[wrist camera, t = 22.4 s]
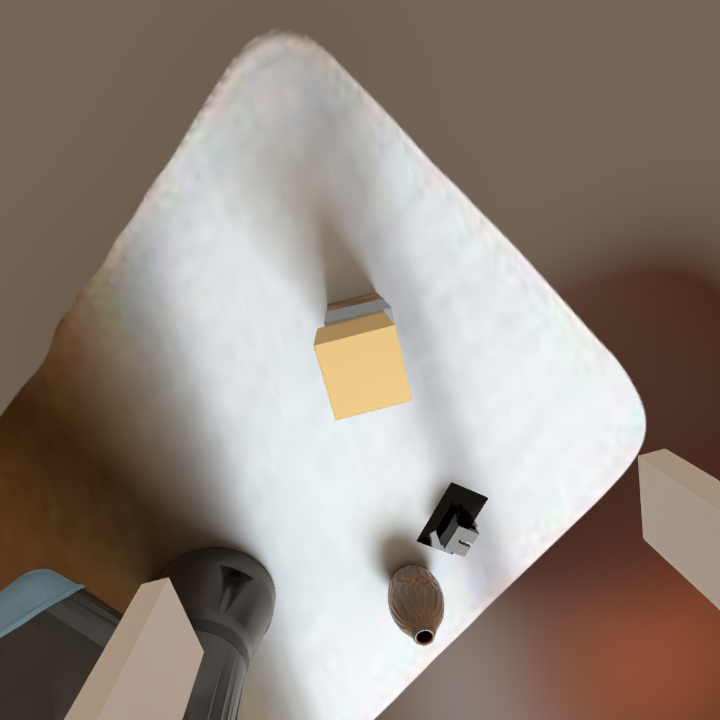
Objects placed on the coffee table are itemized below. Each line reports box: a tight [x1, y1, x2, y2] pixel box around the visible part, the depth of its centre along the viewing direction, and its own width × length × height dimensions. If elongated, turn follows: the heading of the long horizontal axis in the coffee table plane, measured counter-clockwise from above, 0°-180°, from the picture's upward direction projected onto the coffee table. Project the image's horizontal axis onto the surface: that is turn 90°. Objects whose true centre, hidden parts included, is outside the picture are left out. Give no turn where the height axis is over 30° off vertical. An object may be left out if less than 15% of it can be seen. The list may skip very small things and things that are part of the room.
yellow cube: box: [314, 311, 412, 420], centre depth 30 cm, size 6×6×6 cm
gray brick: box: [324, 299, 395, 327], centre depth 36 cm, size 6×6×6 cm
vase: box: [388, 565, 444, 646], centre depth 50 cm, size 7×7×9 cm
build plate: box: [417, 483, 488, 556], centre depth 50 cm, size 12×7×5 cm, turn 154°
